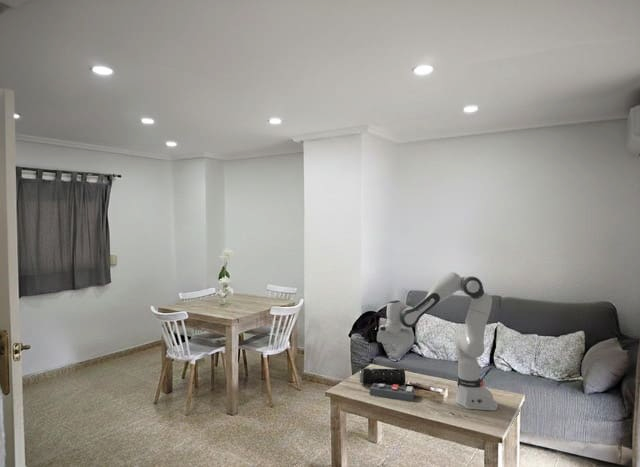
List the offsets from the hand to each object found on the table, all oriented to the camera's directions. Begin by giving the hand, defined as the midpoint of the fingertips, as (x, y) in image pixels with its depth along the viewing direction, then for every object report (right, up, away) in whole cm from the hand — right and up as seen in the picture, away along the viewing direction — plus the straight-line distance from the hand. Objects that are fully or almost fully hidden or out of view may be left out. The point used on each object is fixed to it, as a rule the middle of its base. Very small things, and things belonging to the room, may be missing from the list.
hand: (393, 350), depth 247 cm
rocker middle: (+1, -21, -2) cm, 21 cm away
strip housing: (-1, -26, -1) cm, 26 cm away
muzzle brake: (-5, -26, +15) cm, 31 cm away
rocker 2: (+8, -21, -5) cm, 23 cm away
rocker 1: (-7, -21, +1) cm, 22 cm away
